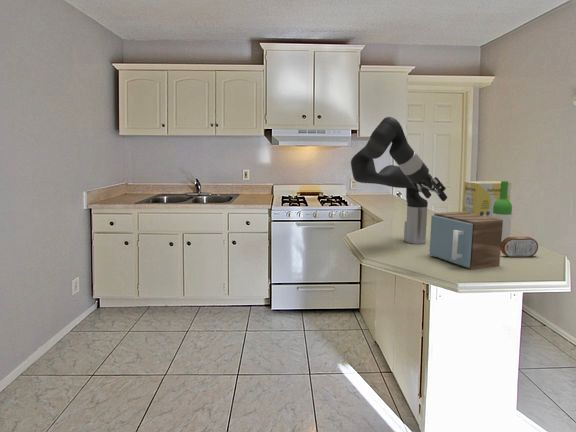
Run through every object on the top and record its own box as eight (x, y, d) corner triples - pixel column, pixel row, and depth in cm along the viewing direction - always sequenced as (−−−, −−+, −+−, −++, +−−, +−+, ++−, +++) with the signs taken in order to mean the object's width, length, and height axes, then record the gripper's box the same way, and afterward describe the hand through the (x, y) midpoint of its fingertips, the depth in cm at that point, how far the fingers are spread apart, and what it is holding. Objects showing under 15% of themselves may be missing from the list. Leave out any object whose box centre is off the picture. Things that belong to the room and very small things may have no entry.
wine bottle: (491, 244, 212) (496, 180, 207) (509, 246, 208) (515, 181, 203) (488, 247, 206) (493, 181, 201) (507, 249, 202) (513, 182, 197)
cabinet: (431, 255, 190) (434, 213, 187) (458, 252, 195) (460, 211, 192) (471, 269, 170) (474, 222, 167) (499, 265, 175) (503, 219, 172)
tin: (534, 255, 191) (536, 236, 190) (538, 257, 188) (540, 237, 187) (499, 255, 191) (500, 236, 190) (502, 257, 188) (504, 237, 186)
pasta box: (492, 235, 232) (496, 181, 227) (506, 240, 222) (511, 182, 217) (460, 237, 227) (464, 181, 223) (473, 241, 217) (477, 183, 213)
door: (420, 255, 187) (422, 216, 185) (431, 254, 190) (433, 215, 187) (458, 268, 168) (461, 225, 165) (470, 267, 170) (473, 224, 167)
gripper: (394, 173, 165) (418, 203, 171) (419, 175, 152) (444, 208, 158) (406, 158, 166) (430, 188, 172) (432, 159, 153) (457, 192, 159)
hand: (437, 198), depth 165 cm, fingers open, 8 cm apart
